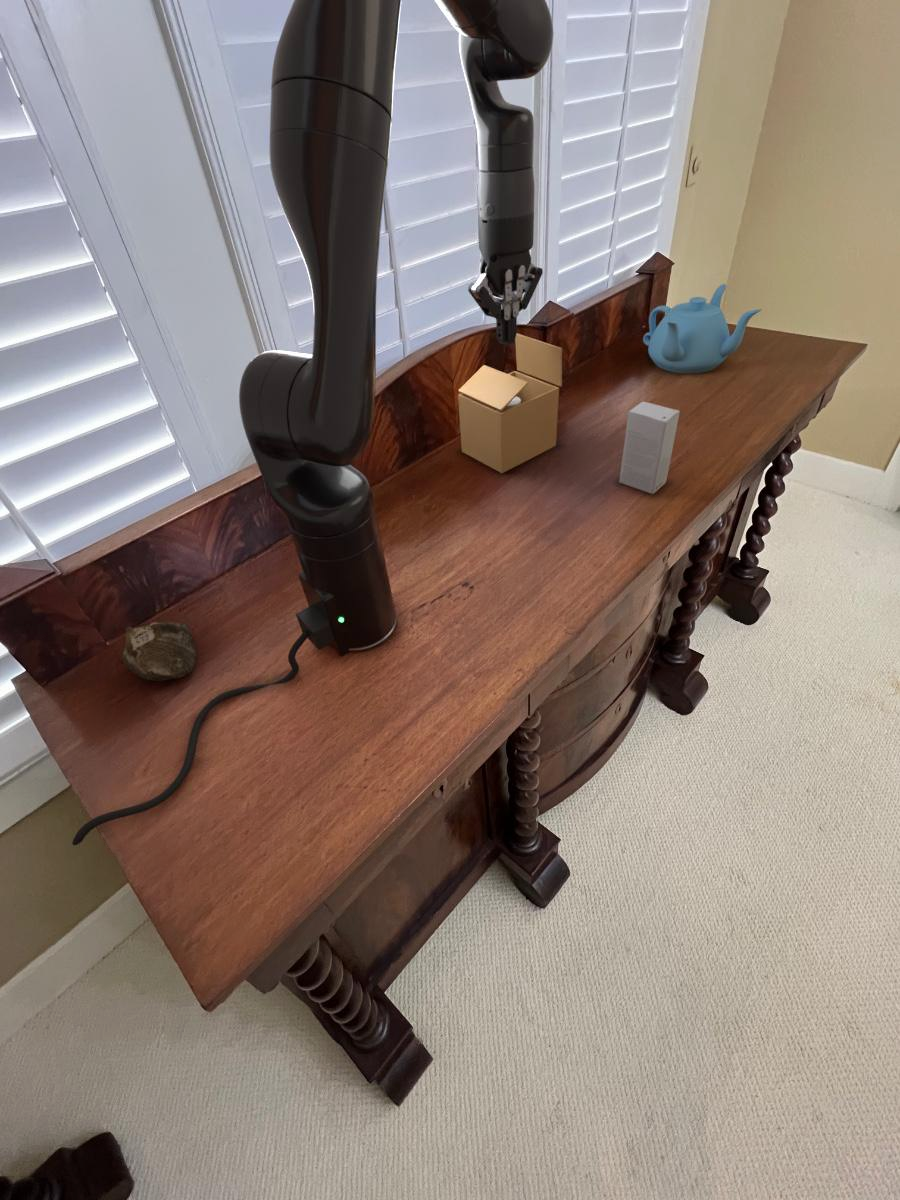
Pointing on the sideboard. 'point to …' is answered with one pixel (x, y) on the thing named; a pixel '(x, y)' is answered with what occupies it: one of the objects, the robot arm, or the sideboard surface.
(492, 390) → the flap
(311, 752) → the sideboard surface
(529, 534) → the sideboard surface
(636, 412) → the cosmetic box
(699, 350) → the teapot
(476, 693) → the sideboard surface
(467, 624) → the sideboard surface
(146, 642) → the fossilized seashell
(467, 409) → the carton
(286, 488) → the robot arm
